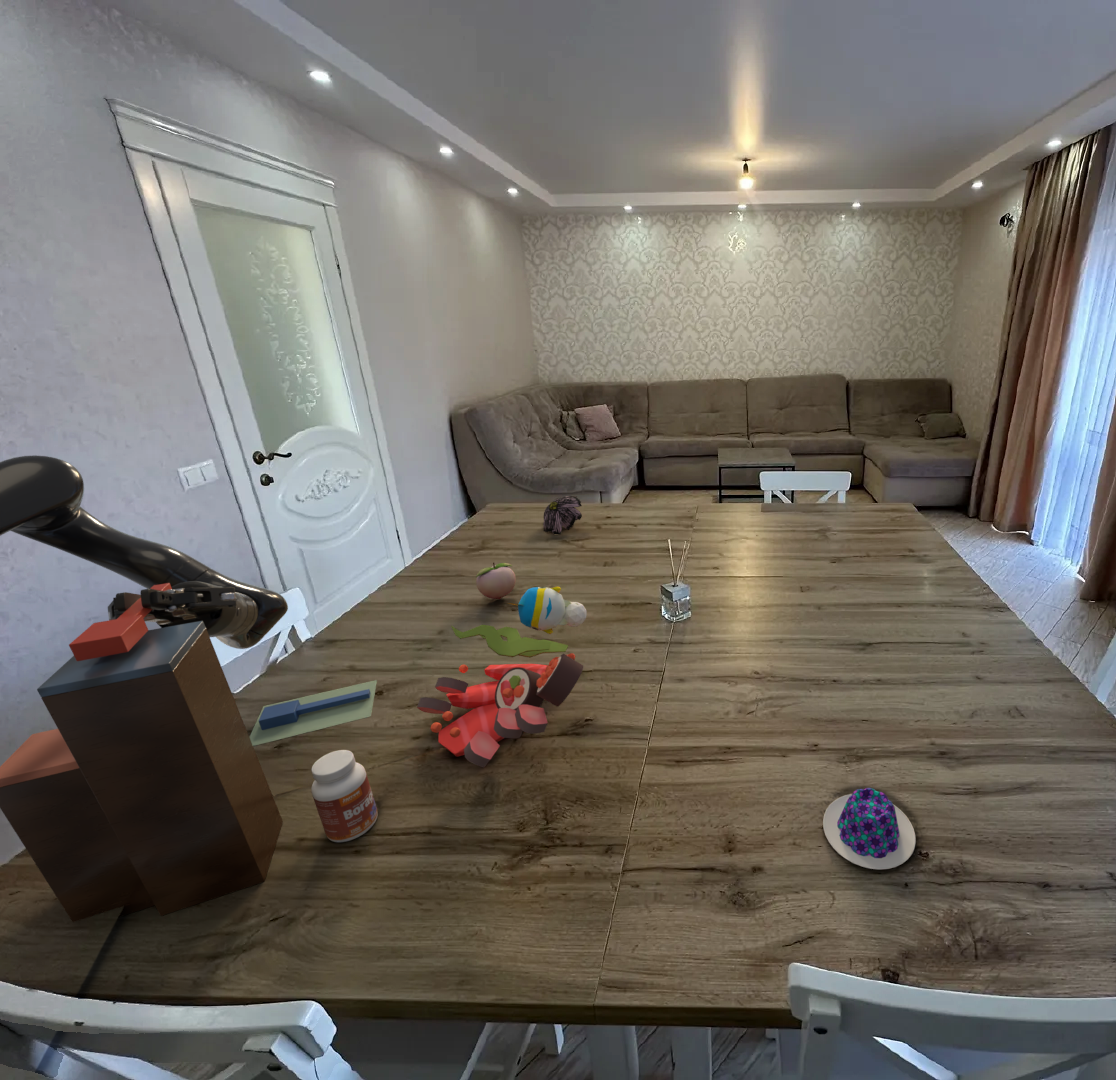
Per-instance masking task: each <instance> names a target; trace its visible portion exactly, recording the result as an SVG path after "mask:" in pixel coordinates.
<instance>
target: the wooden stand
mask: <svg viewBox="0 0 1116 1080" xmlns="http://www.w3.org/2000/svg"><path fill="white" fill-rule="evenodd" d="M36 691H37V693H38V694H39V696H40V698H41V701H42V703H43V704H44V706H45V707H46V710H47V711H48V713H49V715H50V717H51V719H52V721H53V722H54V724H55V726H56V728H54V729H49V730H45V731H41V732H35V733H32V734H30V736H28V738H26V740H25V741H24V742H22V743H21V745H20V746H19V747H18V748H17V749H16V750H15V751H14V752H13V753H12V754H11V755H10V756H9V757H8V758H7V759H6V760H5V761H4V762H3V763H2V764H1V765H0V811H2V814H3V815H4V816H5V818H6V820H7V822H8V823H9V824H10V826H11V828H12V829H13V831H14V832H15V834H16V835H17V837H18V838H19V840H20V842H21V843H22V846H23V847H24V848H25V850H26V851H27V853H28V854H29V856H30V857H31V859H32V861H33V863H34V864H35V865H36V867H37V869H38V870H39V872H40V873H41V875H42V876H43V878H44V879H45V881H46V883H47V884H48V886H49V888H50V889H51V891H52V893H54V895H55V897H56V899H57V900H58V901H59V904H60V905H61V906H62V908H63V909H64V911H65V913H66V914H67V916H68V917H69V919H70V920H71V922H72V923H75V922H78V921H82V920H84V919H87V918H91V917H93V916H97V915H100V914H103V913H106V912H109V911H113V910H115V909H118V908H122V909H121V911H120V913H119V914H118V916H117V918H120V917H124V916H127V915H129V914H133V913H136V912H140V911H143V910H146V909H148V908H151V907H154V906H155V908H156V910H157V912H158V914H159V916H161V917H162V916H165V915H168V914H171V913H174V912H177V911H180V910H183V909H186V908H189V907H193V906H195V905H198V904H202V903H204V902H207V901H211V900H213V899H216V898H219V897H222V896H225V895H229V894H231V893H235V892H237V891H240V890H243V889H247V888H249V887H252V886H256V885H258V884H261V883H265V881H266V878H267V875H268V871H269V868H270V865H271V862H272V859H273V855H274V852H275V849H276V845H277V843H278V839H279V836H280V833H281V830H282V828H283V827H282V826H283V823H284V820H283V818H282V816H281V813H280V811H279V809H278V806H277V804H276V800H275V798H274V796H273V793H272V791H271V788H270V786H269V782H268V780H267V777H266V775H265V773H264V770H263V768H262V766H261V762H260V761H259V758H258V755H257V753H256V750H255V747H254V746H253V745H252V743H251V740H250V738H249V737H250V735H249V733H248V730H247V728H246V726H245V723H244V720H243V717H242V715H241V713H240V710H239V708H238V704H237V702H236V701H235V698H234V695H233V693H232V690H231V688H230V685H229V682H228V679H227V678H226V675H225V672H224V670H223V668H222V664H221V662H220V659H219V657H218V654H217V651H216V650H215V647H214V644H213V643H212V639H211V637H209V634H208V632H207V629H206V627H205V625H204V622H203V621H198V622H193V623H187V624H181V625H176V626H170V627H164V628H161V627H159V628H154V629H148V631H147V632H146V634H145V635H144V636H143V637H142V638H141V639H140V640H139V641H138V642H137V643H136V644H135V645H134V646H133V647H132V648H131V649H130V650H129V651H128V652H125V653H120V654H114V655H109V656H103V657H98V658H93V659H87V660H82V661H76V659H75V657H74V655H73V656H72V657H70V659H68V660H67V661H65V663H64V664H63V665H62V666H61V667H59V668H58V669H57V670H56V671H55V672H54V673H53V674H52V675H51V676H50V677H48V678H47V679H46V680H45V681H44V682H43V683H42V684H41V685H39V687H37V689H36Z"/></svg>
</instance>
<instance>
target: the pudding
mask: <svg viewBox="0 0 1116 1080" xmlns="http://www.w3.org/2000/svg"><path fill="white" fill-rule="evenodd" d="M822 826H823V832H824V835H825V837H826V839H827V841H828V843H829V844H830V846H831V847H832V848H833V850H835V851H836V852H837V854H838V855H840V856H841V857H843V858H844V859H845V860H847V861H849V862H851V864H854V865H857V866H860V867H863V868H866V869H869V870H870V869H871V870H872V869H873V870H889V869H892V868H897V867H899V866H900V865H902V864H904V863H905V862H906V861H908V860H909V858H910V857H911V856H912V855H913V853H914V851H915V848H916V843H917V841H916V840H917V839H916V833H915V829H914V826H913V824H912V822H911V821H910V819H909V817H908V816H907V815H906V814H905V813H904V812H903V810H901V809H900V807H898V806H896V805H895V804H893V802H892V800H890V799H889V797H888V795H887V794H886V793H884V792H883V791H878V790H876V789H875V788H872V787H865V788H858V789H855V790H854V791H853V792H852V793H848V794H845V795H842V796H840V797H838V798H836V799H835V800H833V801H832V802H831V803H829V805H828V806H827V807H826V809H825V812H824V815H823V820H822Z"/></svg>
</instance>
